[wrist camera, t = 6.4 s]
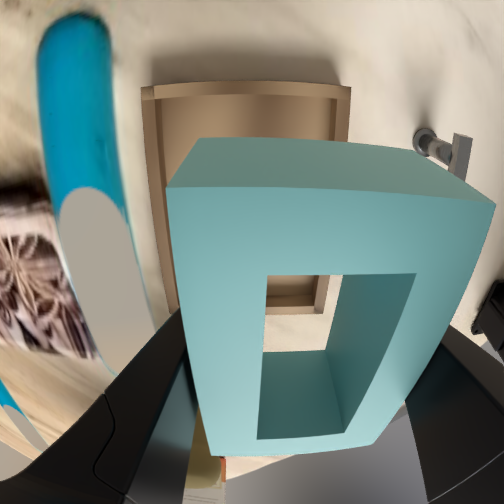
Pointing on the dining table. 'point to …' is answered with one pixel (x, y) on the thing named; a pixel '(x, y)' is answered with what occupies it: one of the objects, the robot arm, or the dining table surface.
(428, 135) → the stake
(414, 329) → the teal hollow block
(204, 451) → the cork
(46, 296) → the dining table surface
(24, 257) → the dining table surface
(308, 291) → the tray
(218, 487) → the cracker box
